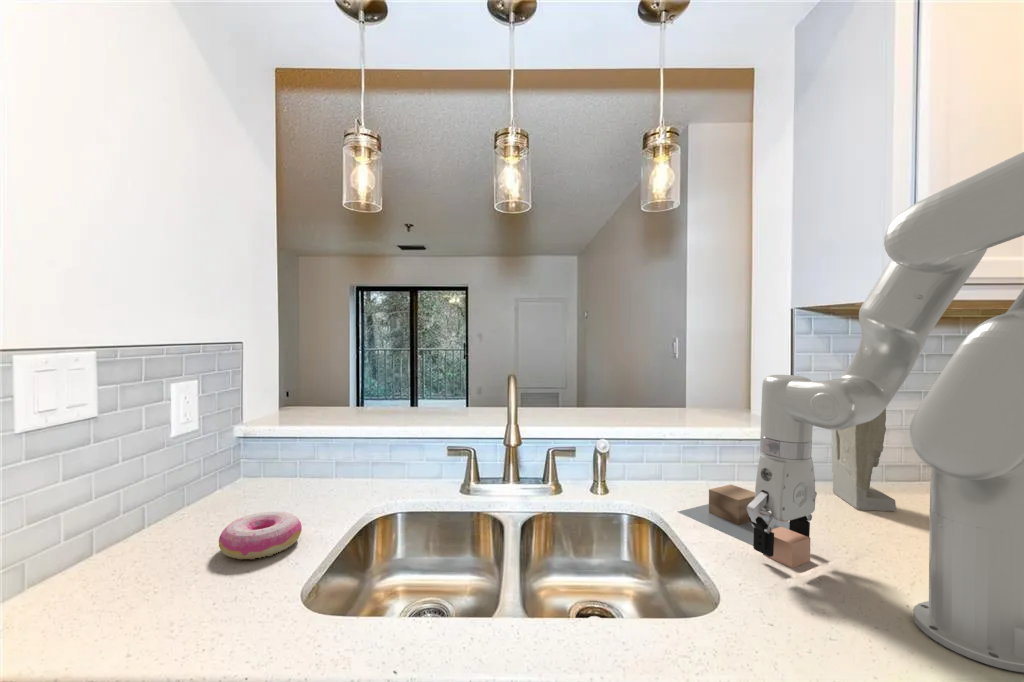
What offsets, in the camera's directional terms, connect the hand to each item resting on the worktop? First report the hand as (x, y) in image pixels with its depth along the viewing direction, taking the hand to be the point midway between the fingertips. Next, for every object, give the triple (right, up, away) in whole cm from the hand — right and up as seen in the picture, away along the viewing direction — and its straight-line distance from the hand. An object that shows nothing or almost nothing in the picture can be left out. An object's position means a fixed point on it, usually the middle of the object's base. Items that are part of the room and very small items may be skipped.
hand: (781, 546), depth 78 cm
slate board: (0, -2, +15) cm, 15 cm away
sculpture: (+35, -2, +27) cm, 44 cm away
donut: (-93, -3, +6) cm, 93 cm away
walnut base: (0, -1, +17) cm, 17 cm away
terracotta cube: (0, -3, -1) cm, 3 cm away
